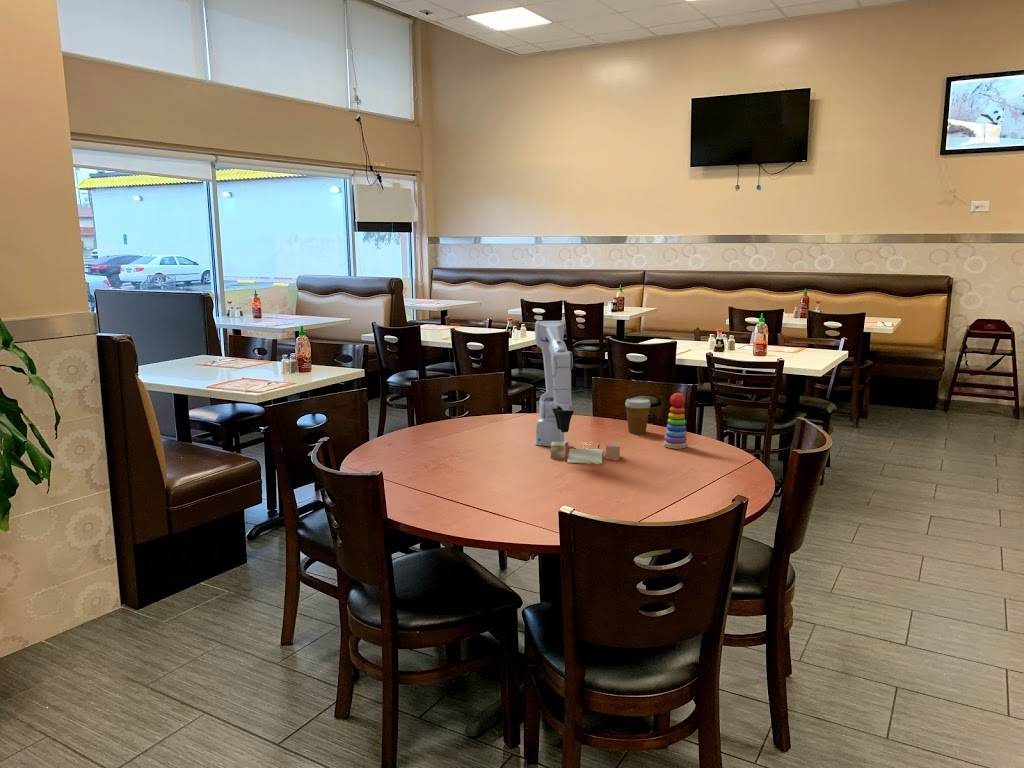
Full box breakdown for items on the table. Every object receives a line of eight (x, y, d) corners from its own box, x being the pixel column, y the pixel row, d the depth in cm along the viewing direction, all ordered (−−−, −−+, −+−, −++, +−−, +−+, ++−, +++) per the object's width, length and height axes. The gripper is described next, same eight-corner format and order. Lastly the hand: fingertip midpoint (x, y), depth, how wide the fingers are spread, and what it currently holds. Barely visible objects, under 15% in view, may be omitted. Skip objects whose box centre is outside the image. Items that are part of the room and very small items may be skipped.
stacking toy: (687, 450, 257) (689, 395, 254) (663, 449, 259) (665, 395, 255) (687, 444, 265) (689, 391, 262) (663, 443, 266) (665, 390, 263)
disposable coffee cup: (619, 430, 285) (619, 399, 283) (640, 428, 289) (641, 397, 287) (633, 436, 276) (634, 403, 274) (655, 433, 280) (656, 401, 278)
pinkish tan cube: (605, 459, 246) (605, 446, 246) (605, 456, 251) (605, 442, 250) (619, 460, 246) (619, 446, 245) (619, 456, 250) (619, 443, 250)
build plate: (567, 463, 242) (567, 461, 242) (569, 450, 258) (569, 448, 258) (601, 464, 241) (602, 462, 241) (602, 451, 256) (602, 449, 256)
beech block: (550, 458, 248) (550, 445, 247) (551, 454, 253) (551, 441, 252) (564, 458, 248) (564, 445, 247) (565, 455, 252) (565, 442, 251)
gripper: (547, 388, 254) (547, 428, 255) (553, 390, 240) (553, 433, 240) (568, 387, 255) (568, 427, 256) (575, 390, 240) (575, 433, 241)
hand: (562, 430), depth 248 cm, fingers open, 7 cm apart
